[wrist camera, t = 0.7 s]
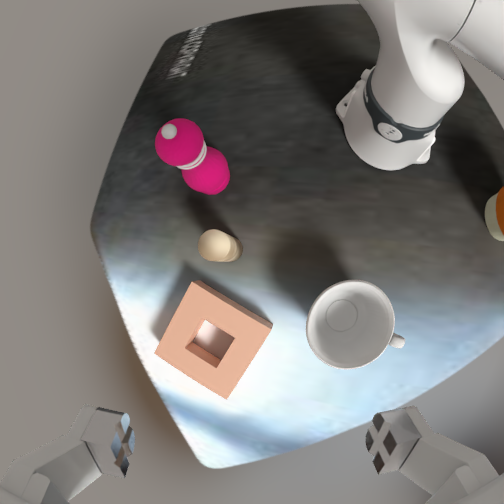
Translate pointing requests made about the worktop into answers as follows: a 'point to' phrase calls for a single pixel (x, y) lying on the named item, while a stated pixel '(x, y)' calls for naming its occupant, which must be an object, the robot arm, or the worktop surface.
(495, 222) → the reusable coffee cup
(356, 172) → the worktop surface
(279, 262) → the worktop surface
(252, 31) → the worktop surface
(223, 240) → the maple pin
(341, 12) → the worktop surface
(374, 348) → the teacup
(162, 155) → the pepper mill
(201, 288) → the socket block
